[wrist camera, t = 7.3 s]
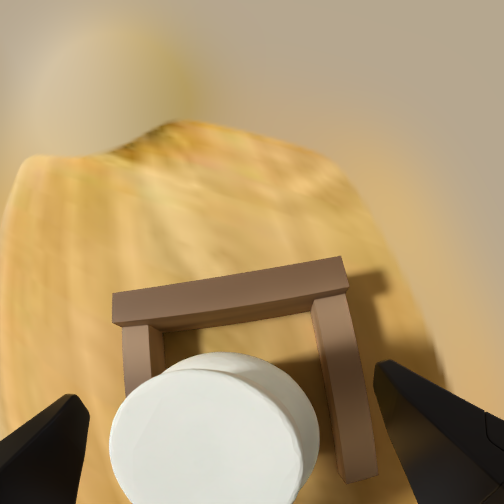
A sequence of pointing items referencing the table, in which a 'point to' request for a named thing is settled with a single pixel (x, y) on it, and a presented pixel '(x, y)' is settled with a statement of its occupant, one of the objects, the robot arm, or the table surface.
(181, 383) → the supplement bottle
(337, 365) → the housing rails
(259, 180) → the table surface
